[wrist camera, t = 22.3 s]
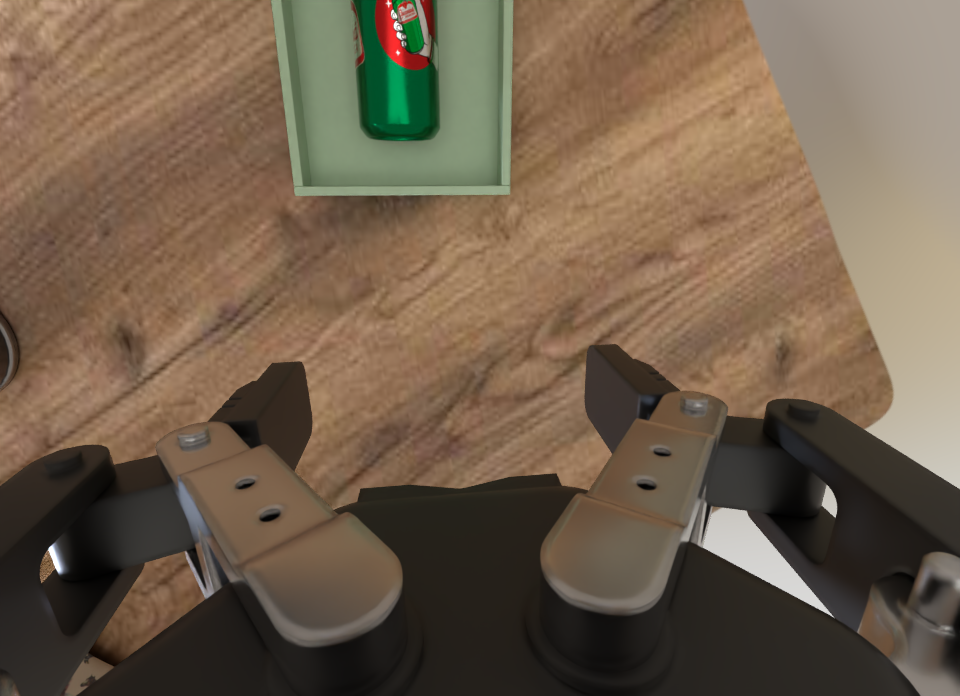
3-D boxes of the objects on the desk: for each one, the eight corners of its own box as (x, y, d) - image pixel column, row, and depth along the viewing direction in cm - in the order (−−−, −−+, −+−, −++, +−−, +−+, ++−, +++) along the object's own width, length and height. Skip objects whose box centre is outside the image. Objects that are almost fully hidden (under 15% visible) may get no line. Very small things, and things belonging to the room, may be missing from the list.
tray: (504, 193, 36) (510, 194, 33) (306, 194, 34) (294, 196, 32) (508, -140, 29) (516, -174, 26) (265, -153, 28) (247, -190, 25)
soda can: (376, 142, 34) (362, -71, 30) (447, 141, 33) (443, -76, 29) (347, 135, 29) (327, -118, 25) (430, 134, 28) (423, -126, 24)
